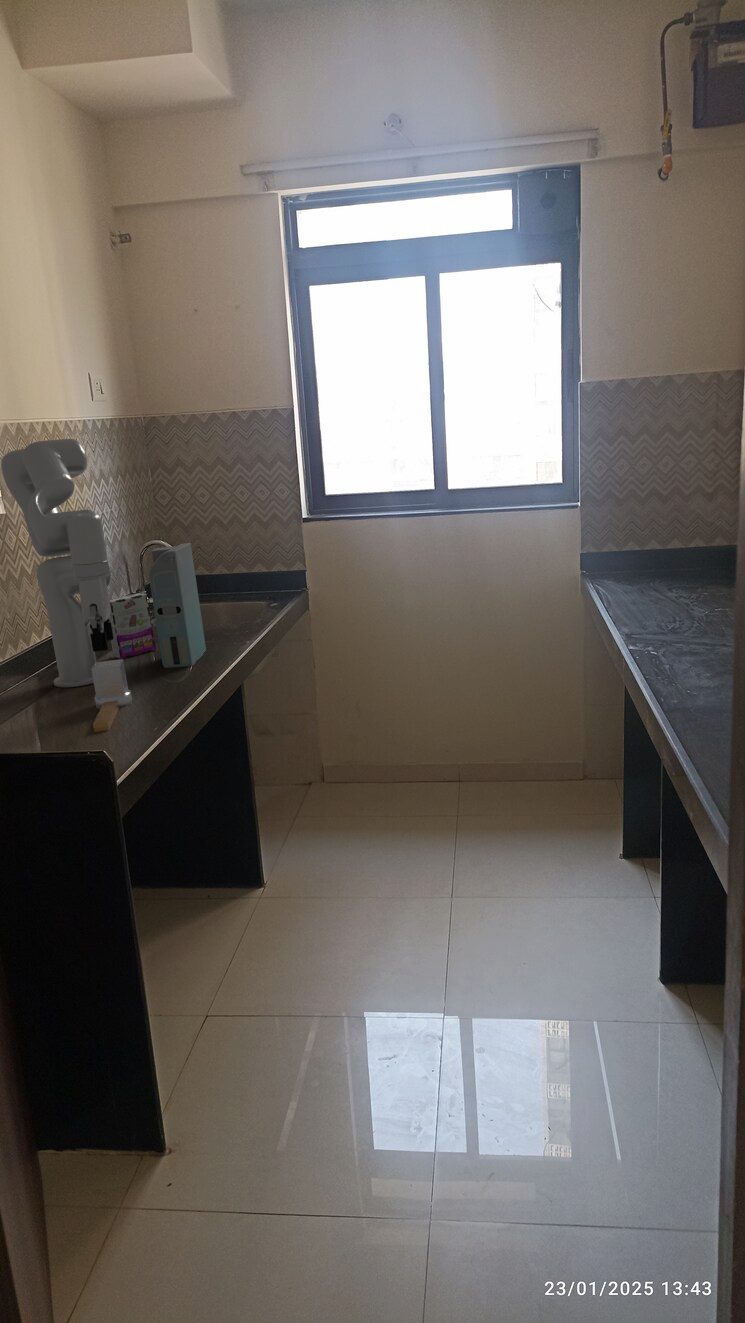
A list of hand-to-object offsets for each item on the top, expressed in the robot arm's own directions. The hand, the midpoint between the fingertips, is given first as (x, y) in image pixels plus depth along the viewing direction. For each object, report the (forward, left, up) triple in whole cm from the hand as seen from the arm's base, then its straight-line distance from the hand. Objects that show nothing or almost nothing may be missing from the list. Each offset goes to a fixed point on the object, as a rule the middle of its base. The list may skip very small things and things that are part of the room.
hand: (103, 645), depth 208 cm
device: (-36, +14, -14) cm, 41 cm away
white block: (+1, 0, -11) cm, 11 cm away
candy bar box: (-51, -1, -14) cm, 53 cm away
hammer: (+9, 0, -14) cm, 16 cm away
